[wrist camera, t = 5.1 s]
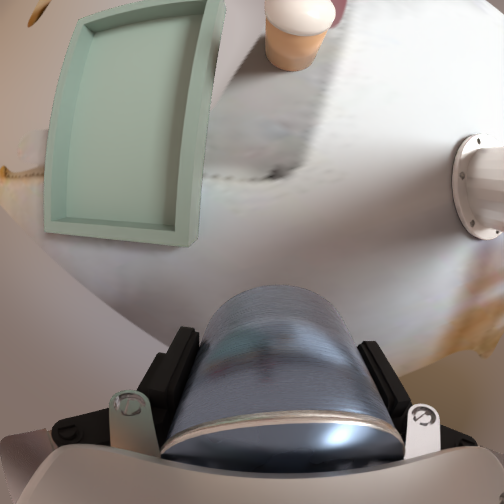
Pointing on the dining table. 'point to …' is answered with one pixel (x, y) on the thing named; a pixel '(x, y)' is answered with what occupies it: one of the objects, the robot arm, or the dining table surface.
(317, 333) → the tin
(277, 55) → the jar
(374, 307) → the dining table surface
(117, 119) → the tray
